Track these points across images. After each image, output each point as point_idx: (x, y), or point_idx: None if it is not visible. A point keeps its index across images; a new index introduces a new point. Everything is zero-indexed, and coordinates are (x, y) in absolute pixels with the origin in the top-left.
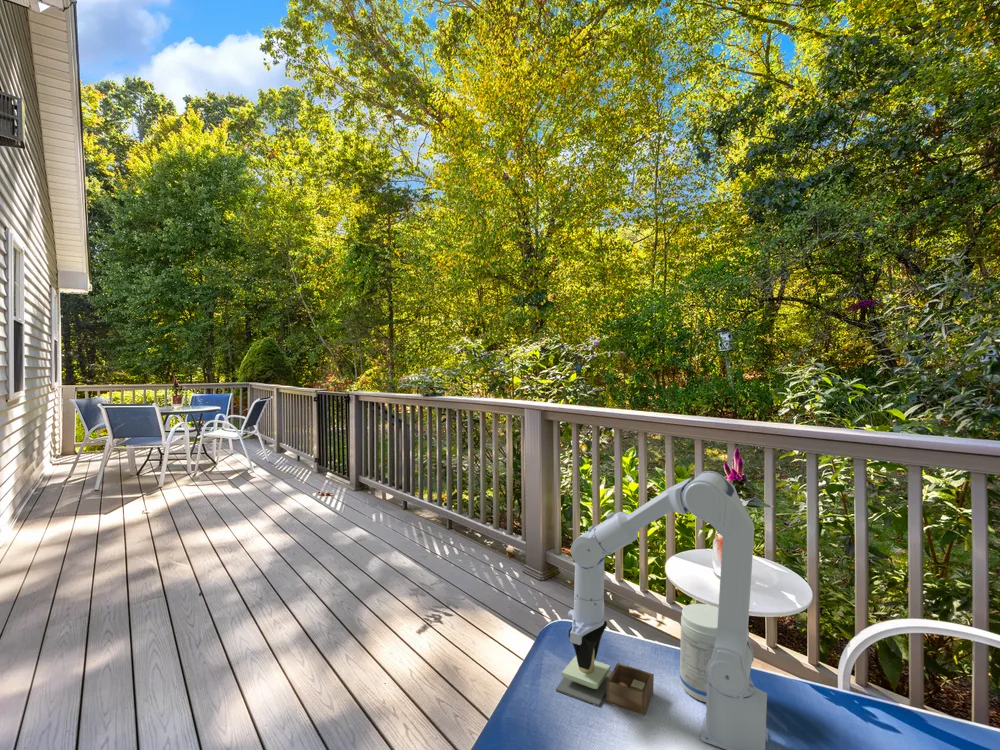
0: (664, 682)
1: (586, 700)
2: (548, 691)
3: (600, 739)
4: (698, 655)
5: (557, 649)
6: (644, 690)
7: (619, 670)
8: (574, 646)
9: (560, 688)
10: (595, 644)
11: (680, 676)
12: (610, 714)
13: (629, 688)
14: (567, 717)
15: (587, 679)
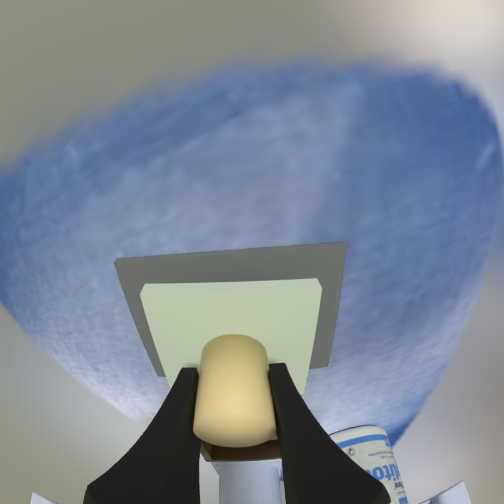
0: (339, 417)
1: (147, 351)
2: (98, 238)
3: (87, 384)
4: None
5: (388, 135)
6: (221, 460)
7: None
8: (133, 449)
9: (127, 275)
10: (281, 449)
11: (340, 446)
12: (158, 390)
13: (203, 450)
14: (69, 325)
15: (176, 375)
